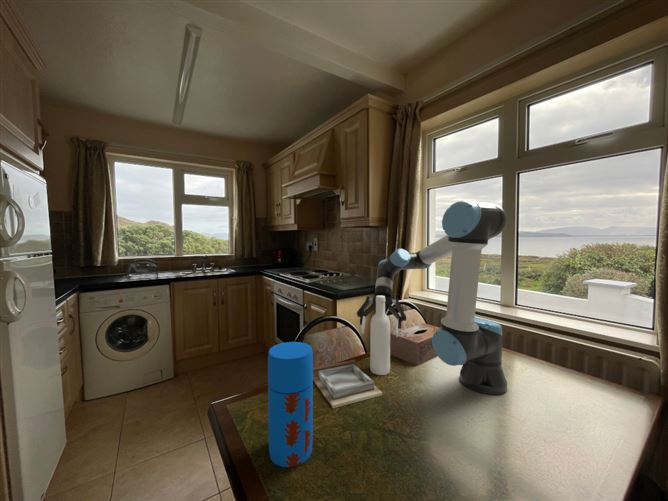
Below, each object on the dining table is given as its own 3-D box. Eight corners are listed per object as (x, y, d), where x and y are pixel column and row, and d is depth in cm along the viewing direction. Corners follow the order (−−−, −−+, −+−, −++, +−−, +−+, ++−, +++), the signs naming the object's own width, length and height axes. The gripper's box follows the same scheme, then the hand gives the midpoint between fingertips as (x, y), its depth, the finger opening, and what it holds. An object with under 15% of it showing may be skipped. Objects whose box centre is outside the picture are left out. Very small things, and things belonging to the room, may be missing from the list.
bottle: (393, 373, 104) (394, 297, 104) (375, 376, 102) (375, 298, 101) (384, 364, 112) (384, 293, 111) (366, 367, 110) (367, 294, 109)
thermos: (272, 435, 71) (271, 342, 70) (312, 432, 72) (312, 340, 71) (265, 469, 60) (264, 360, 59) (312, 466, 61) (312, 358, 60)
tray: (382, 395, 90) (382, 383, 90) (332, 408, 83) (332, 395, 82) (354, 369, 108) (354, 359, 108) (312, 378, 101) (312, 367, 101)
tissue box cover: (422, 342, 139) (422, 323, 138) (449, 351, 127) (449, 330, 127) (390, 355, 123) (390, 333, 122) (417, 366, 111) (417, 342, 111)
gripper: (412, 296, 119) (411, 341, 105) (357, 292, 126) (350, 335, 112) (412, 286, 114) (411, 332, 100) (355, 283, 121) (347, 326, 107)
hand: (379, 333), depth 106 cm, fingers open, 13 cm apart
